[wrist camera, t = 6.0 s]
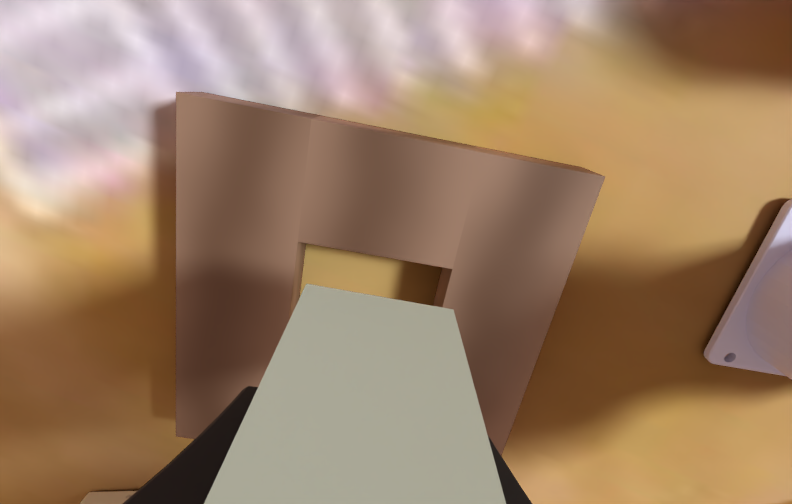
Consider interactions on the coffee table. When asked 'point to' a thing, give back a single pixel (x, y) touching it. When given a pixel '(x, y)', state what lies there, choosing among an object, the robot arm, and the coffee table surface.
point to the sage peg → (362, 411)
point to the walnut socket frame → (359, 240)
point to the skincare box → (107, 497)
